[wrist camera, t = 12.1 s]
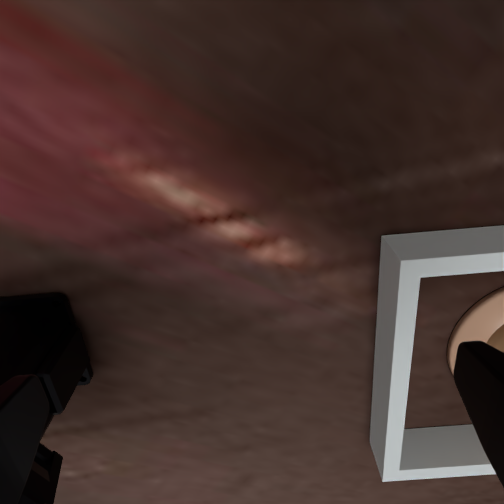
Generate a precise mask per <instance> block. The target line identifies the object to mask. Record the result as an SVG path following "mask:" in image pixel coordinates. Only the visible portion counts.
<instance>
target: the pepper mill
mask: <svg viewBox="0 0 504 504" xmlns="http://www.w3.org/2000/svg"><path fill="white" fill-rule="evenodd" d="M487 344H489V345H490V346H492V347H494V348H496V349H498V350H500V351H502V352H504V324H503V325H502V326H501V327H499V328H498V329H497V330H496V331H495V332H494V333H493V334H492V335H491V337H490V338H489V340H488V341H487Z"/></svg>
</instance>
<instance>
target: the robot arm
mask: <svg viewBox="0 0 504 504" xmlns="http://www.w3.org/2000/svg"><path fill="white" fill-rule="evenodd" d="M54 300H55V301H58V302H59V303H60V304H57V303H55V301H54ZM89 361H90V359H89V356H88V353H87V350H86V347H85V344H84V341H83V338H82V335H81V332H80V329H79V328H78V327H77V326H76V324H75V321H74V318H73V315H72V312H71V309H70V306H69V303H68V300H67V298H66V297H65V296H64V295H63V294H60V293H50V294H38V295H26V296H14V297H2V298H0V504H53V503H54V498H55V493H56V488H57V484H58V479H59V474H60V469H61V464H62V459H63V457H62V456H61V455H60V454H58V453H57V452H56V451H51V450H49V449H48V448H46V447H45V446H44V445H42V444H41V443H40V440H41V438H42V437H43V435H44V433H45V431H46V429H47V427H48V426H49V424H50V422H51V420H52V418H53V416H54V415H57V414H61V413H62V412H63V410H64V409H65V407H66V405H67V403H68V401H69V400H70V398H71V396H72V394H73V392H74V390H75V388H76V386H77V385H86V384H88V383H90V381H91V379H92V377H93V373H92V371H91V368H90V365H89ZM82 376H84V377H82ZM454 380H455V384H456V386H457V389H458V391H459V393H460V396H461V398H462V400H463V403H464V405H465V407H466V410H467V412H468V415H469V417H470V419H471V422H472V424H473V426H474V429H475V431H476V434H477V436H478V438H479V441H480V443H481V445H482V447H483V449H484V452H485V454H486V456H487V458H488V459H489V461H490V463H491V465H492V467H493V469H494V471H495V473H496V474H497V476H498V478H499V480H500V482H501V483H502V485H503V487H504V352H502V351H500V350H498V349H496V348H494V347H492V346H490V345H489V344H487V343H485V342H483V341H465V342H461V343H460V344H459V346H458V349H457V354H456V360H455V366H454Z"/></svg>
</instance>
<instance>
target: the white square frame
mask: <svg viewBox="0 0 504 504" xmlns="http://www.w3.org/2000/svg"><path fill="white" fill-rule="evenodd" d="M495 271H504V225H501V226H489V227H477V228H465V229H454V230H442V231H430V232H418V233H406V234H395V235H383V236H381V252H380V269H379V286H378V304H377V321H376V338H375V356H374V373H373V390H372V407H371V425H370V445H371V448H372V451H373V454H374V457H375V460H376V463H377V466H378V469H379V472H380V475H381V478H382V482H386V481H401V480H415V479H430V478H444V477H459V476H474V475H488V474H496V473H495V471H494V469H493V467H492V465H491V463H490V461H489V459H488V458H487V456H486V454H485V452H484V449H483V447H482V445H481V443H480V441H479V438H478V436H477V434H476V431H475V429H474V426H473V424H470V425H456V426H442V427H428V428H414V429H404V423H405V414H406V405H407V396H408V387H409V377H410V368H411V359H412V350H413V341H414V332H415V323H416V314H417V304H418V295H419V286H420V278H422V277H434V276H446V275H458V274H470V273H483V272H495ZM503 324H504V287H502V288H500V289H498V290H495V291H494V292H492V293H490V294H488V295H487V296H485V297H484V298H482V299H481V300H479V301H478V302H477V303H476V304H474V305H473V306H472V307H471V308H470V309H469V310H468V311H467V312H466V313H465V314H464V315H463V316H462V318H461V319H460V320H459V322H458V323H457V324H456V326H455V328H454V330H453V332H452V334H451V336H450V339H449V342H448V347H447V362H448V365H449V368H450V370H451V372H452V374H453V376H454V366H455V360H456V354H457V349H458V346H459V344H460V343H461V342H465V341H483V342H485V343H487V341H488V340H489V338H490V337H491V335H492V334H493V333H494V332H495V331H496V330H497V329H498V328H499V327H501V326H502V325H503Z"/></svg>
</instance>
